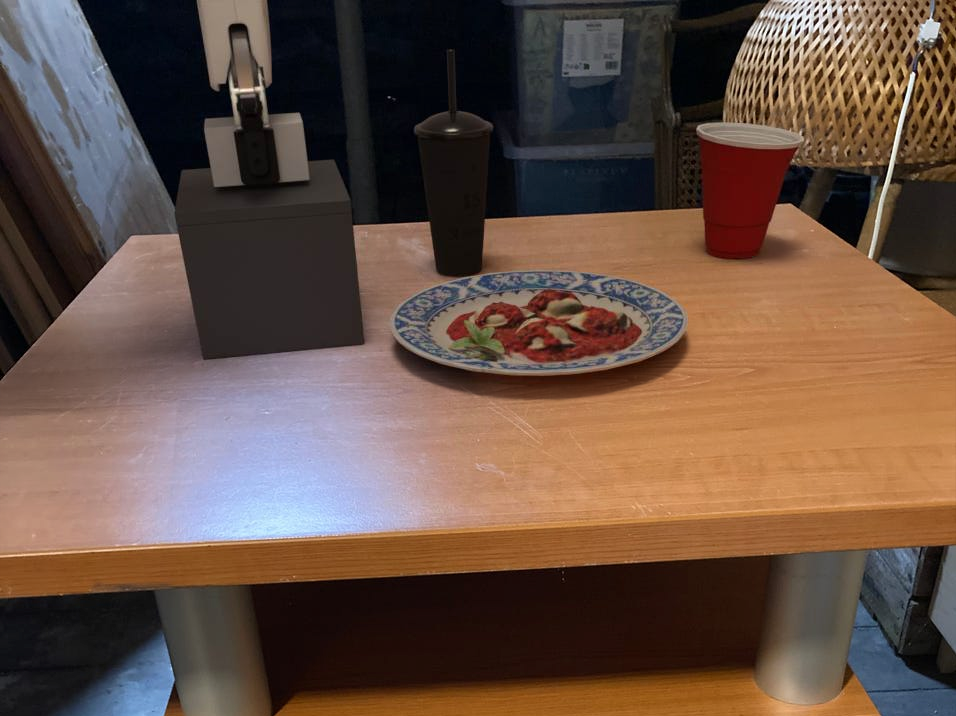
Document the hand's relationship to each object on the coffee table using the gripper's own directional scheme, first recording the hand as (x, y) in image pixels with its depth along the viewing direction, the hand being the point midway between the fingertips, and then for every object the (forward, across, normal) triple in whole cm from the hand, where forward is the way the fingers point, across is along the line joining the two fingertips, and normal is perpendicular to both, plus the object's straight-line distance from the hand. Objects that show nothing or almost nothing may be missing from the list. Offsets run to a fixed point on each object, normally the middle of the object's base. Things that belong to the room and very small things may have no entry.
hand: (260, 173), depth 86 cm
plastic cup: (+13, -9, +49) cm, 51 cm away
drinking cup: (+13, -11, +19) cm, 25 cm away
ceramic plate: (+13, +11, +22) cm, 28 cm away
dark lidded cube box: (+13, 0, 0) cm, 13 cm away
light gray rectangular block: (0, 0, 0) cm, 0 cm away
